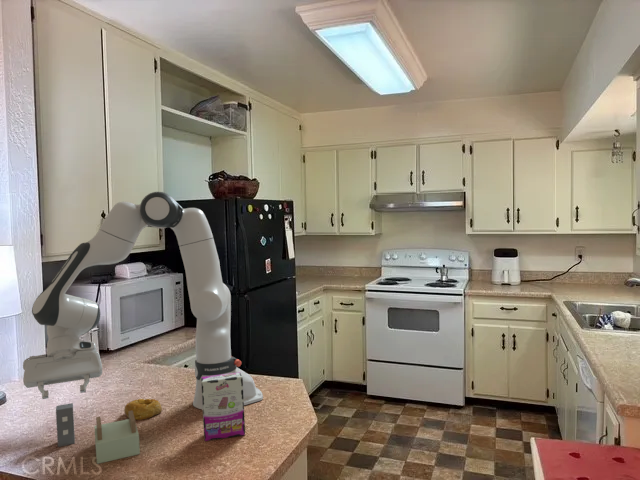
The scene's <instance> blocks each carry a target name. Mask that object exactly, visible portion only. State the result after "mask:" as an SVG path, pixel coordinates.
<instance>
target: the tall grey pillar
mask: <svg viewBox="0 0 640 480" xmlns="http://www.w3.org/2000/svg"><path fill="white" fill-rule="evenodd" d="M55 417H56V420H55V421H56V437H57V447H58V448H61V447H65V446H69V445H75V440H76V436H75V422H74V421H75V419H74V403H73V402H71V403H66V404H60V405H56V406H55Z"/></svg>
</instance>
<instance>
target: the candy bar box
mask: <svg viewBox="0 0 640 480" xmlns="http://www.w3.org/2000/svg"><path fill="white" fill-rule="evenodd" d="M201 388H202V408H203V409H202V422H203V423H202V424H203V437H204V442H209V441H216V440H222V439H228V438H234V437H240V436H245V435H246V424H245V423H246V422H245V421H246V419H245V418H246V417H245V405H244V398H243V378H242V375H241V373H240V372H238V373H229V374H221V375H214V376H206V377H201Z"/></svg>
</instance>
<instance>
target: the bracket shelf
mask: <svg viewBox="0 0 640 480" xmlns="http://www.w3.org/2000/svg"><path fill="white" fill-rule="evenodd" d="M95 420H96V422H95V423H96V425H94V440H95V441H94V443H95V458H96V464H97V465H99V464H103V463H106V462H111V461H116V460H120V459H125V458H128V457H129V458H130V457H132V456H137V455H141V453H140V451H141V450H140V448H141V447H140V435H139V434H140V433H139V431H138V427H137V422H136V421H137V420H135V417H134V414H133V411H132V410H131V411H129V418H126V419H122V420H118V421H112V422H108V423H102V419H101V416H96V419H95Z"/></svg>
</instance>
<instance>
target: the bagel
mask: <svg viewBox="0 0 640 480" xmlns="http://www.w3.org/2000/svg"><path fill="white" fill-rule="evenodd" d="M123 409H124V410H123V411H124V414H125V415H126V417H127V419H129V411H131V410H132V411H133V414H134V417H135V421H142V420H147V418H148V419H150V418H153V417H154V416H156V415H158V414H161V413H162V412H163V406H162V404H161V402H160V401H159V400H157V399H154V398H151V399H150V398H145V399H144V398H138V399H135V400H132V401H129V402H127V403H126V404H125V406H124V408H123Z"/></svg>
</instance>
